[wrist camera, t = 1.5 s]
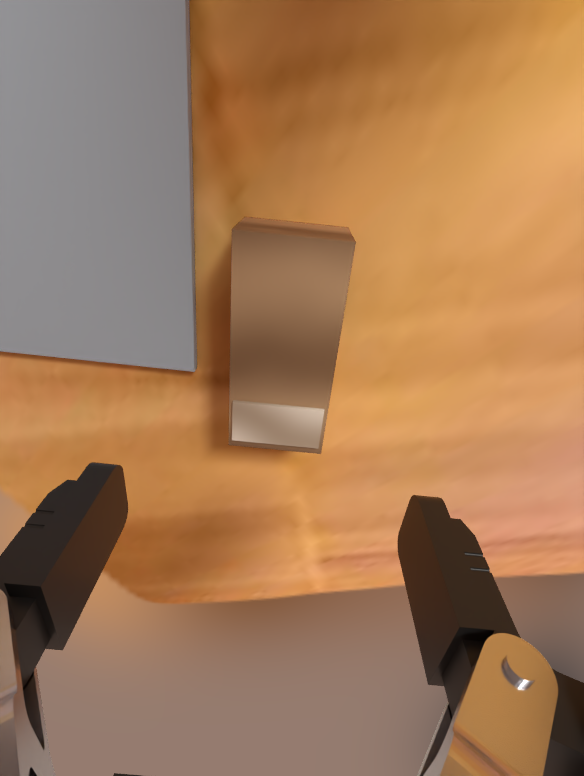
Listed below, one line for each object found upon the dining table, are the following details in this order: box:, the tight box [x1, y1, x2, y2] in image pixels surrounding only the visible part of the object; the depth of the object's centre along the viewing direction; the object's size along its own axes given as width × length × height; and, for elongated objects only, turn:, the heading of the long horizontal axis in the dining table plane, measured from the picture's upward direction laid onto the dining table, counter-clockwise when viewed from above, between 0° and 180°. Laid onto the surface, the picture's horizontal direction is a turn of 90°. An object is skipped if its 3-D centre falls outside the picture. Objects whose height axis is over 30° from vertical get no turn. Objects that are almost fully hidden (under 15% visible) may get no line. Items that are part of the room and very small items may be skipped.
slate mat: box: [0, 0, 197, 372], centre depth 18 cm, size 22×16×1 cm
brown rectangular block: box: [229, 217, 356, 454], centre depth 21 cm, size 11×5×4 cm, turn 175°
